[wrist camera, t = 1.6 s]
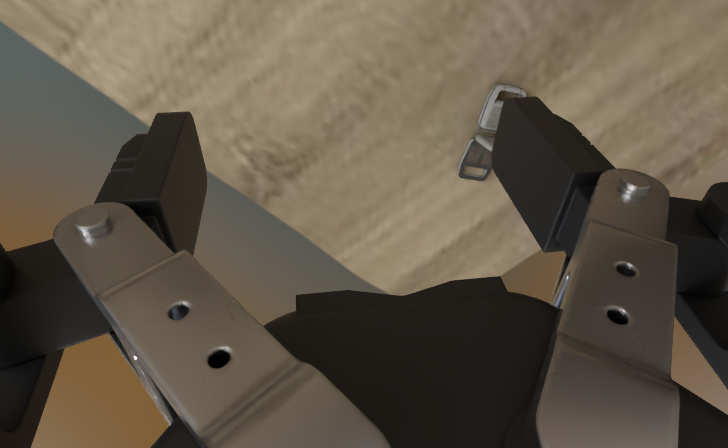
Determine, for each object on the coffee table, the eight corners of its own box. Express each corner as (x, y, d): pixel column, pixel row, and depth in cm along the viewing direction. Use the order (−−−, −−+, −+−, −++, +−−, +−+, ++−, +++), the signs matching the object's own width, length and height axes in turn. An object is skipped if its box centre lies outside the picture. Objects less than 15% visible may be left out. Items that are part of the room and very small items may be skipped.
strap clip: (492, 80, 36) (515, 99, 33) (525, 87, 37) (551, 107, 33) (454, 174, 40) (470, 200, 37) (484, 179, 41) (503, 204, 38)
